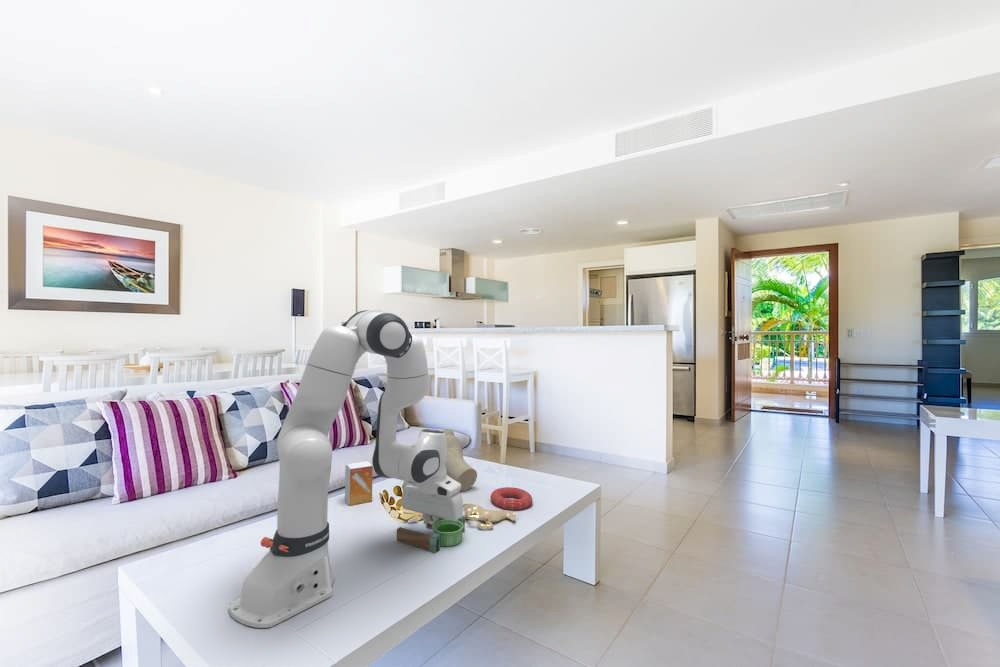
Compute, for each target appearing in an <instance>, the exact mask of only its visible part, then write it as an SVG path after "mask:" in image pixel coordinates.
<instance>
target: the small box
mask: <svg viewBox="0 0 1000 667" xmlns="http://www.w3.org/2000/svg"><path fill="white" fill-rule="evenodd" d="M373 469H374V468H373V464H371V463H370V462H369V460H365V461H359V462H353V463H347V464H345V475H344V476H345V481H344V500H345V502H346V503H347V504H348V506H354V505H359V504H364V503H365V504H366V503H372V501H373V472H374V470H373Z"/></svg>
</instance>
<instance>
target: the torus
mask: <svg viewBox="0 0 1000 667" xmlns="http://www.w3.org/2000/svg"><path fill="white" fill-rule="evenodd" d="M490 501H491V503H492V504H493V505H495V506H496V507H498V508H500V509H504V510H506V511H522V510H525V509H528V508H529V507H531V505H532V504H533V497H532V495H531V493H529V492H528V491H526V490H524V489H522V488H517V487H511V486H506V487H505V486H504V487H498V488H496V489H494V490H493V491H492V492H491V494H490Z"/></svg>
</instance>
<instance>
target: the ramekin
mask: <svg viewBox="0 0 1000 667" xmlns="http://www.w3.org/2000/svg"><path fill="white" fill-rule="evenodd" d="M463 527H464V525H463V523H462V522H460V521H458V520H457V521H451V520H447V519H444V520H440V521H438V522H436V523H435V524H434V525H433V530H432V531H433V533H437V534H440V547H453V546H456V545H459V544H460V543H461V542H462V539H463V532H462V531H463Z"/></svg>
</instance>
